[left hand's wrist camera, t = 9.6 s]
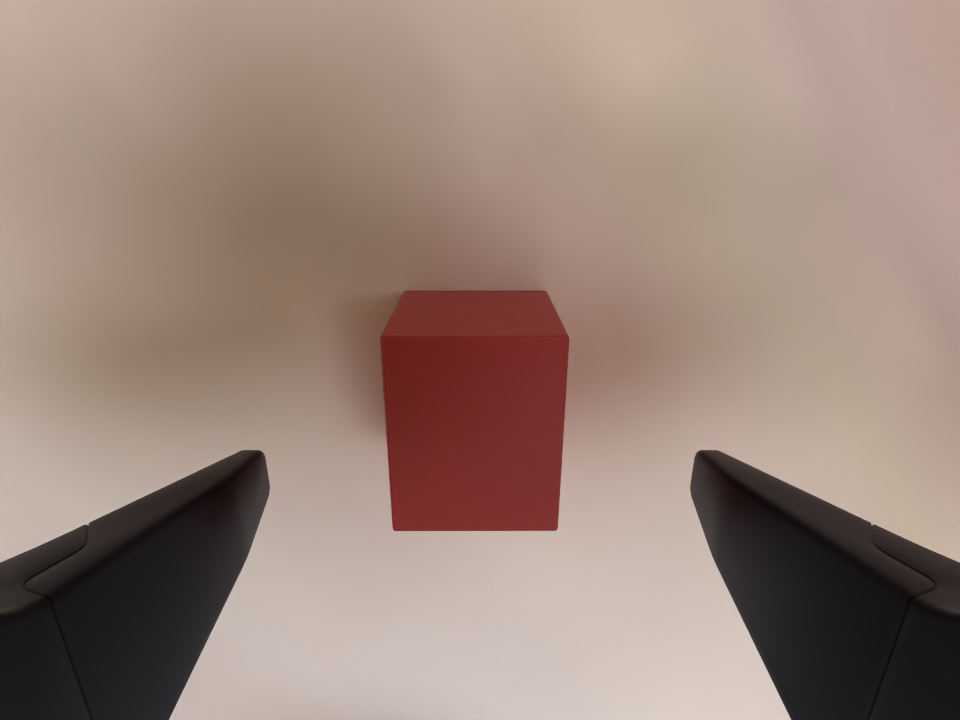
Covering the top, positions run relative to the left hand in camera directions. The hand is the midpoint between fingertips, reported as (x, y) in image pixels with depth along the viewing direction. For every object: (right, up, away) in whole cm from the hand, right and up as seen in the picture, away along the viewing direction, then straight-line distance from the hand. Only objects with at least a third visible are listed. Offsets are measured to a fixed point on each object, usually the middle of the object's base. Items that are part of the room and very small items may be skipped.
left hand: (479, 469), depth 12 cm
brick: (0, +2, +5) cm, 5 cm away
